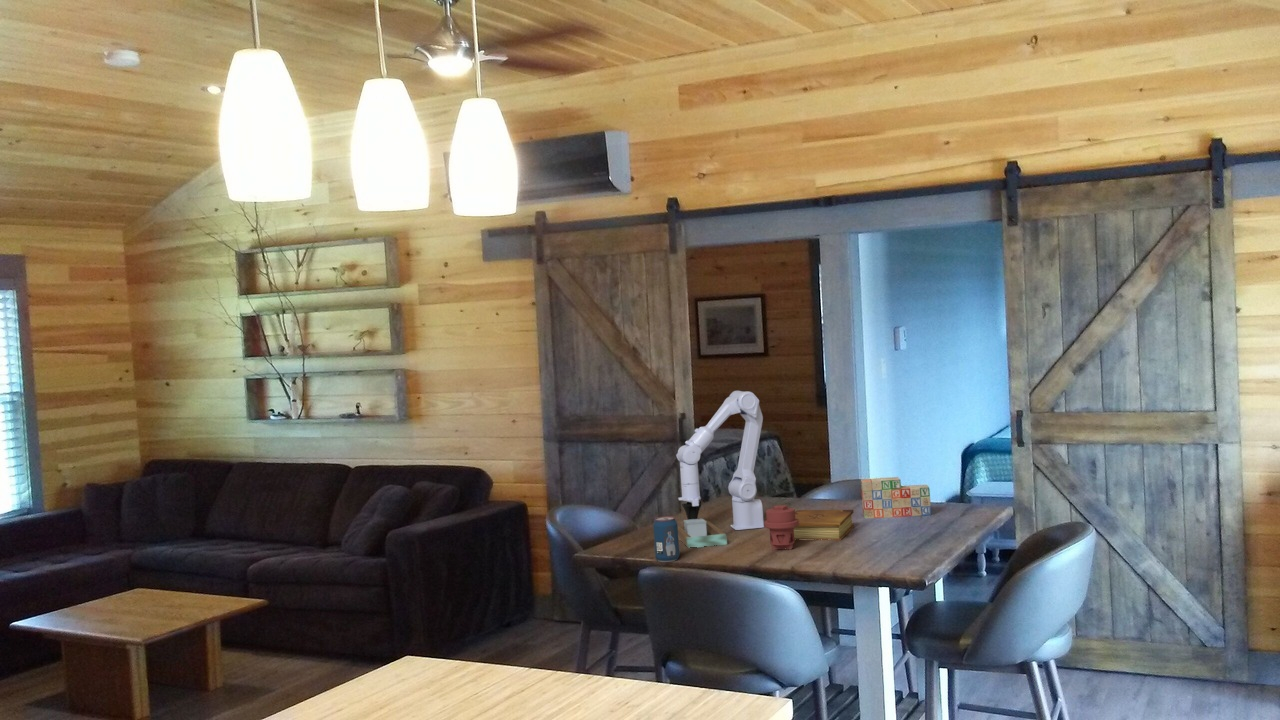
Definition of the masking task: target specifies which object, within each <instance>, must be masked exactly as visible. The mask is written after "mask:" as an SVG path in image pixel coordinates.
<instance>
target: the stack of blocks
mask: <svg viewBox="0 0 1280 720" xmlns="http://www.w3.org/2000/svg"><path fill="white" fill-rule="evenodd" d="M860 485H861V486H860V487H861V488H860V493H861V503H862V504H861V505H862V515H863V517H864V519H881V518H886V519H887V518H888V519H889V518H902V517H903V518H905V517H921V516H926V517H927V516H932V507H931V505H932V503H931V502H932V501H931V491H930V485H928V484H913V485H911V484H910V485H902V484H901V478H899V476H894V477H880V478H879V477H878V478H877V477H876V478H861V479H860Z"/></svg>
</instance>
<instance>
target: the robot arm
mask: <svg viewBox="0 0 1280 720" xmlns="http://www.w3.org/2000/svg"><path fill="white" fill-rule="evenodd" d="M735 414H740V416H741V417H742V419H744V420H745V424H744V429H743V434H742V440H741V445H740V447H741V448H740V453H739V459H738V464H737V467H736V470H735V471H734V472H733V475H732V478H731V481H730V482H728V493H729V494H730V495H731V496H732V498H731V505H732V506H731V507H732V518H733V519H732V521H733V524H730V527H731V528H732V529H733V530H735V531H740V530H752V529H760V528H762V529H763V528H765V527H764V511H763V503H762V500H761V499H760V498H755V497H756V495H757V492H758V491H757V485H756V482H757V481H756V480H757V478H756V475H755V472H754V471H755V465H756V459H757V455H758V449H759V444H760V438H761V431H762V427H763V420H764V416H763V413H762V409H761V406H760V400H759V398H758V397H757V395H755V393H753V392H752V391H741V390H734V391H732V392H731V393H730V394H729V396H727V397H726V398H725V399H724V401H723V403H722V404H721V405H720V407H719V408H718V410H717V411H716V412H715V413H714V415H713V416H712V417H711V419H710V420H709V421H708V423H707V424H706V425H705V426H700V427H699V428H695V429H694V433H693V435H692V436H690V438H689V439H688V440H686V441H685V442H684V443H685V445H682V446H680V447H679V448H678V450H677V453H676V454H675V455H676V459H677V461H678V462H679V468H680V469H679V470H680V484H681V488H680V489H681V497H677V499H678V501H684V502H686V503H682V504H681V506H682V508H683V510H684V511H685V515H686V518H687V519H686V520H689V519H699V512H700V509H701V507H702V503H701V502H700V500H702V498H701V493H700V490H701V489H700V477H699V464H698V462H699V461H700V459H701V454H702V453H703V452H704V451H705V450H706V448H707V447H708V446H709V444H710V443H712V441H713V440H714V434H715V432H716V431H717V430H718V429H719V428H720V427H721V426H722V425H723V423H725V421H727V420H728V418H729V417H730V416H732V415H735Z"/></svg>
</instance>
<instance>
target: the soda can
mask: <svg viewBox="0 0 1280 720" xmlns="http://www.w3.org/2000/svg"><path fill="white" fill-rule="evenodd" d="M677 525H678V522H677V520H676V517H675V516H670V515H669V516H658V517H656V518H654V522H653V525H652V528H653V542H654V556H655V558H656V559H657V560H656V561H658V562H660V563H668V562H669V563H670V562H675V560H676V561H678V559H679V557H680V544H679V543H680V542H679V541H680V540H679V539H678V526H679V525H678V526H677Z"/></svg>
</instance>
